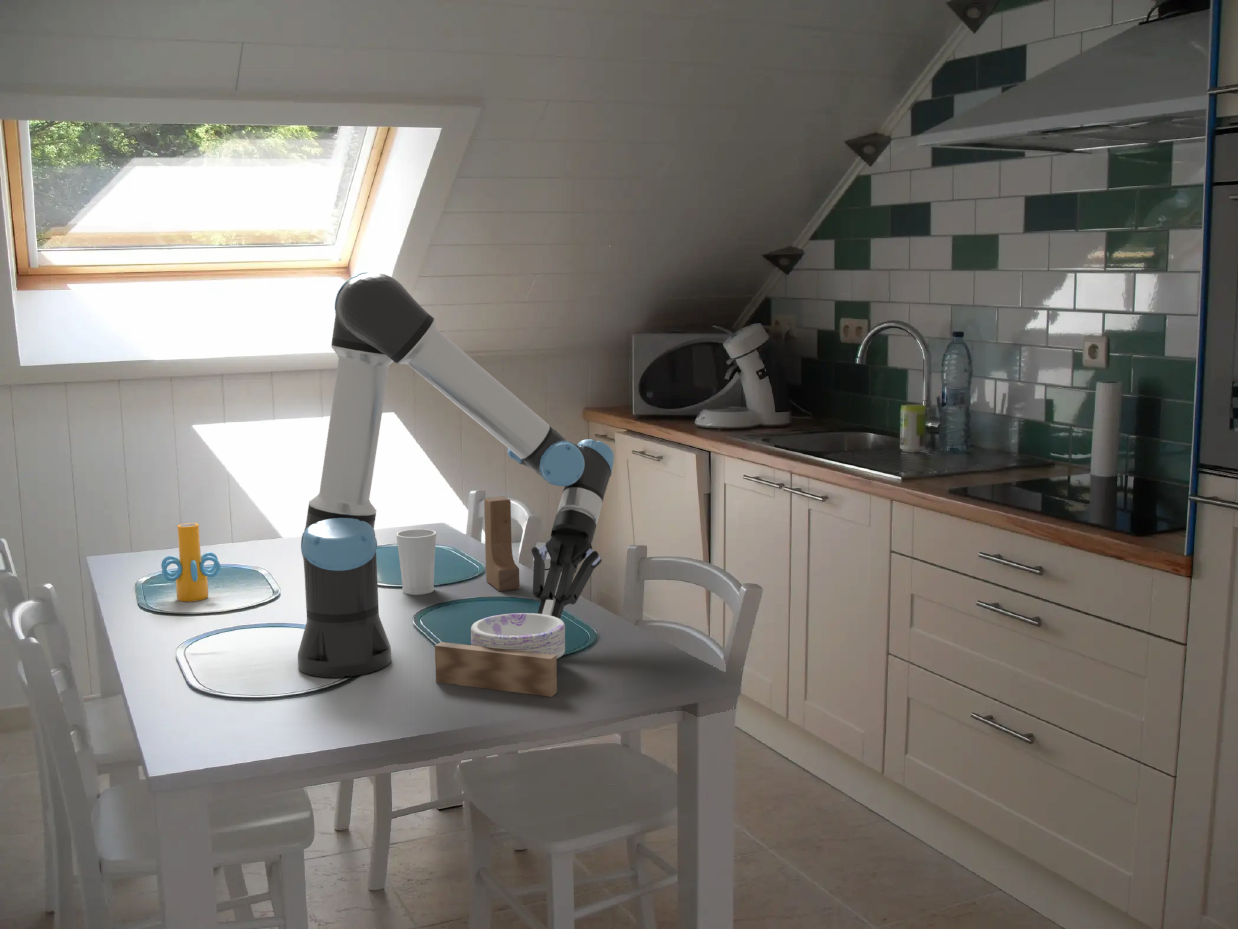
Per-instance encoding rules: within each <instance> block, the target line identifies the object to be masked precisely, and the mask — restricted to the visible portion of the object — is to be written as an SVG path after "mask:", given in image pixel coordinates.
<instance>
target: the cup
mask: <svg viewBox="0 0 1238 929" xmlns="http://www.w3.org/2000/svg"><path fill="white" fill-rule="evenodd" d="M436 540H437V532H436V531H435V530H433V529H428V528H426V529H425V528H413V529H405V530H404V529H403V530H401V531H397V533H396V544H397V550H398V556H399V558H398V559H399V567H400V577H401V585H402V593H403V594H405V595H410V596H411V595H413V596H418V595H419V596H420V595H426V594H430V593H433V592H434V591H435V586H434V581H435V580H434V579H435V559H436V544H437V542H436Z"/></svg>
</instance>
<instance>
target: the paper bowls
mask: <svg viewBox="0 0 1238 929" xmlns="http://www.w3.org/2000/svg"><path fill="white" fill-rule="evenodd" d="M470 633H471V634H470V644H471V645H472V646H481V647H489V648H498V649H507V650H516V651H524V652H533V653H542V654H551V655H556V660H557V659H560V658H561V657H562V656H564V654H565V652H566V624H565V622H564V621H563V620H562V619H559V618H556V617H554V616H550V615H544V614H537V613H533V612H531V613H530V612H519V613H518V612H515V613H505V614H497V615H491V616H488V617H484V618H482V619H479V620H477V621H474V622H473V624H472V625H471V627H470Z"/></svg>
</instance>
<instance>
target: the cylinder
mask: <svg viewBox="0 0 1238 929" xmlns="http://www.w3.org/2000/svg"><path fill="white" fill-rule="evenodd" d="M176 527H177V538H178V539H177V541H178V555H179V556H178V557H177V556H174V555H168V556H166V557H164V558H163V559H162V560H161V563H160V564H161V565H160V566H161V568H160V569H161V574H162V577H163V578H164V579H165V580H166V581H168V582H174V581H175V588H176V589H175V590H176V600H177V601H179V602H184V603H192V602H199V601H202V600H205V599H208V597H209V581H208V578H215V577H216V576H218V575H219V573H220V572H221V564H220V561H219V558H218V556H217V555H216V554H215V553H214V552H212V551H211V552H205V553H203V554H201V541H200V540H201V539H200V537H201V536H200V525H199V523H197V522H187V523H186V522H185V523H181V524H178V525H176ZM207 561H211V562H213V565H212V567H210V568H207V569H206V568H205V563H206V562H207ZM172 564H174V565H176V566H177V570H175V571H174V572H171V571H169V570H168V569H167V568H168V567H169V566H170V565H172Z"/></svg>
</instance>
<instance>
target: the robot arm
mask: <svg viewBox="0 0 1238 929" xmlns="http://www.w3.org/2000/svg"><path fill="white" fill-rule="evenodd" d="M334 311H335V312H334V313H335V317H334V324H333V329H332V330H333V332H332V338H331V339H332V340H331V345H330V347H331V348H332V350H333V351H334V353H335V354H336V356H337V357H338V358H337V359H338V360H337V361H338V362H337V367H336V368H337V369H336V375H335V376H336V377H335V382H334V387H333V388H334V390H333V396H332V402H331V409H330V416H329V424H328V430H327V437H326V438H327V439H326V446H325V449H324V457H323V458H324V459H323V466H322V472H321V481H320V484H319V486H320V487H319V493H318V494H317V495H316V496H315V497H314V498H312V499H311V500H309V501H308V507H307V508H308V509H307V512H306V513H307V515H306V521H305V527H304V530H303V532H302V535H301V540H300V551H301V555H302V559H303V561H302V562H303V570H304V572H303V573H304V590H305V610H306V622H305V623H306V624H305V627H304V630H303V633H302V637H301V641H300V645H299V649H298V652H297V665H298V666H297V667H298V669H299V671H301V672H302V673H303V674H307V675H310V676H313V677H319V678H344V677H343V676H350V677H357V676H363V675H367V674H370V673H374V672H377V671H380V670H382V669H384V668H386V667H387V666H388V665H390V664H391V662H392V647H391V643H390V641H389V638H388V636H387V633H386V631H385V628H384V626H383V622H382V620H381V617H380V611H379V609H380V608H379V590H378V589H379V587H378V586H379V585H378V563H377V560H378V559H377V549H378V541H377V537H376V532H375V524H376V516H377V509H376V508H375V506H374V505H373V504H372V502H371V500H370V498H371V490H372V483H373V477H374V469H375V463H376V456H377V449H378V442H379V436H380V428H381V422H382V416H383V409H384V404H385V402H384V401H385V395H386V388H387V382H388V374H389V370H390V366H391V364H392V363H395V364H396V365H407V366H408V367H410V368H411V369H412V370H413V371H414V372H416V374H418V375H419V376H421V377H422V378H423V379H424V380H425V381H426V382H428V384H430V385H431V386H433V387H434V389H436V390H437V391H439V392H440V394H442V395H443V396H445V397H446V398H447V399H448V400H449V401H451V402H452V403H453V404H454V405H456V406H457V408H459V409H460V410H461V411H462V412H464V413H465V414H466V415H467V416H469V417H470V418H471V419H472V420H473V421H475V422H476V423H477V424H479V425H480V426H481V427H482V428H484V430H486V431H487V432H488V433H489V434H491V436H493V437H494V438H495V439H496V440H497V441H499V442H500V443H501V444H502V445H504V446H505V447H506V448H507V455H508V457H509V458H510V459H511V460H514V461H515V462H517V463H518V464H519V465H523V466H525V467H526V468H527V467H528V468H529V469H531V470H533V472H534V473H537V475H539V476H540V477H542V479H544V480H545V481H546V482H547V483H548V484H550V485H551V486H556V487H563V490H562V494H561V498H560V501H559V505H558V508H557V510H556V511H557V512H556V515H555V517H554V521H553V524H552V526H551V531H550V536H549V538H548V539H547V541H546V542H545V545H543V546H541V547H538V546H534V547H532V548H531V554H532V556H533V574H532V575H533V578H532V580H533V581H532V594H533V596H534V597H535V599H536V601H538V602H539V607H538V610H537V612H536V614H544V615H550V616H554V617H556V618H559V619H561V618H562V615H563V612H564V607H566V606H567V605H575V604H577V601H578V599H579V598H580V596H581V595H582V593H583V590H584V588H585V586H587V583H588V581H589V579H590V577H591V576H592V574H593V572H594V570H595V569H596V568H597V567H598V566H599V565H600V564H601V563H602V557H601V556H600V554H599V553H598V551H597V550H593V548H592V547H593V546H592V542H593V540H594V537H595V534H596V533H595V532H596V530H597V524H598V521H599V517H600V514H601V511H602V506H603V503H604V498H605V495H606V491H607V489H608V485H609V482H610V479H611V477H612V474H613V472H612V471H613V468H614V460H615V454H614V452H613V449H612V448H611V446H609V445H608V444H607V443H605V442H603V441H601V440H594V439H591V438H588V439H587V438H586V439H583V440H580V441H579V442H578V443H577V444H575V443H573V442H571V441H569V440H567V439H566V438H565V437H564V436H563V435H561V434H560V433H559V432H558V431H557V430H556V429H554V428H553V427H552V426H550V424H549V423H547V422H546V421H545V420H544V419H543V418H542V417H540V415H538V414H537V413H536V412H535V411H533V410H532V409H531V408H530V407H529V406H527V404H526V403H524V402H523V401H522V400H521V399H519V398H518V397H517V396H516V395H515V394H514V393H513V392H512V391H510V390H509V389H508V388H507V387H505V386H504V385H503V384H502V383H501V382H499V381H498V379H496V378H495V377H493V375H492V374H490V373H489V372H488V371H487V370H485V368H483V367H482V366H481V365H480V364H479V363H477V362H476V361H475V360H474V359H473V358H471V357H470V356H469V355H468V354H467V353H466V352H465V351H463V350H462V349H461V348H460V347H459V346H457V345H456V344H455V342H453V341H452V340H451V339H449V338H448V336H445V334H444V333H442V331H440V330H439V329H438V328H437V320H436V319H435V318H434V317H433V316H432V315H431V314H430V313H429V312H427V311H426V310H425V309H424V308H423V307H422V306H421V305H420V304H419V303H418V302H417V301H416V299H414V297H413V296H412V295H411V293H409V291H408V290H407V289H406V288H405V287H404V286H403V284H402V283H401V282H400V281H398V280H396V278H393V277H392V276H390V275H387V274H385V273H379V272H369V271H366V272H361V273H358V274H356V275H353V276H351V277H350V278H349V279H347V280H346V281H345V282H343V284H342V285H341V287H340V289H338V291H337V293H336V296H335V300H334ZM547 554H548V555H549V556H550V562H549V564H550V565H549V569H548V572H547V575H545V574H546V563H545V561H546V560H547ZM583 560H584V561H583ZM582 561H583V562H582ZM581 562H582V563H581ZM580 563H581V566H580V567H579V564H580ZM578 567H579V569H578ZM577 569H578V571H577ZM575 574H576V575H575ZM545 576H546V579H545ZM574 576H575V577H574ZM561 620H562V619H561Z"/></svg>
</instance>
